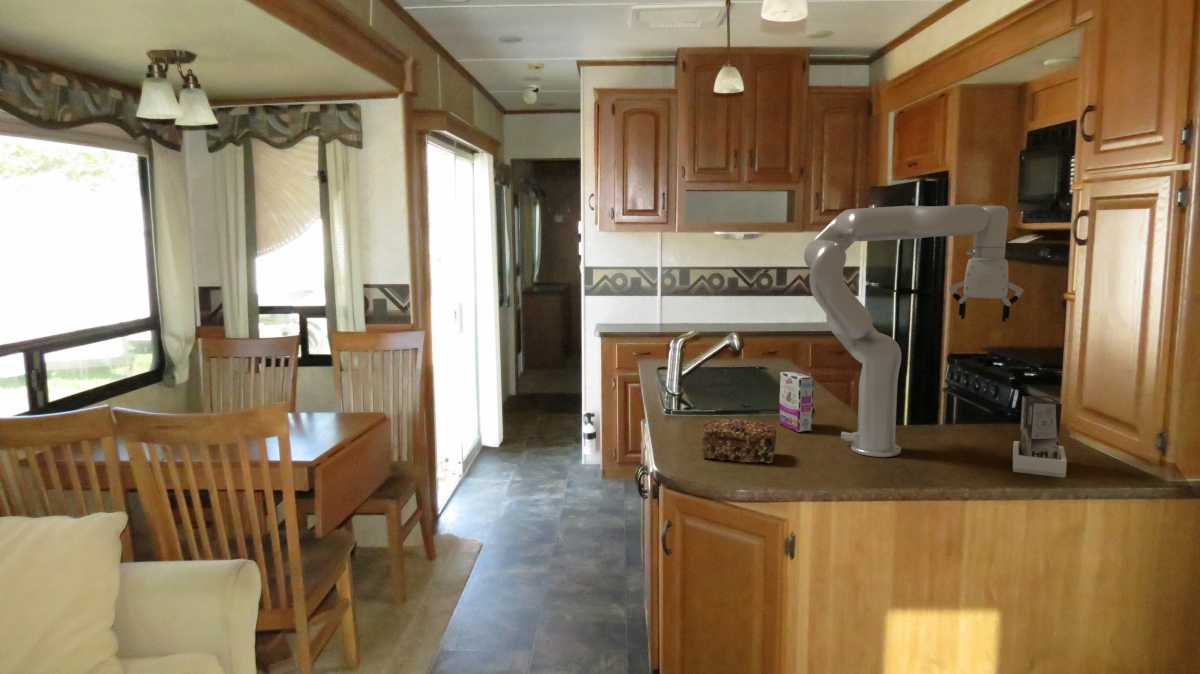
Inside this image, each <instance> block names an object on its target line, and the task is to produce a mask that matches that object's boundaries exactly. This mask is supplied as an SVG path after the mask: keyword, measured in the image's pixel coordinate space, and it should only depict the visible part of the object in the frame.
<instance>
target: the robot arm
mask: <svg viewBox="0 0 1200 674" xmlns="http://www.w3.org/2000/svg"><path fill="white" fill-rule="evenodd" d="M1008 220H1009V209H1008V208H1007V207H1006V206H1004V205H979V204H974V203H972V204H970V203H968V204H966V203H965V204H958V205H957V204H956V205H939V206H938V205H937V206H935V205H933V206H931V205H930V206H926V205H901V206H899V205H898V206H882V207H881V206H880V207H879V206H877V207H864V208H863V207H861V208H850V209H849V208H848V209H845V210H844V211H842V212H840V213H839V214H838V215H837V216H836V217H835V218H834V219H833V220H832V221H831V222H830V223H828V225H826V226H825V227H824V228H823V230H821V231H820V232H819V233H818V235H816V236H815V237H814V238H813V239H812V240H811V241H810V242H809V243H808V244H807V246H806V248H805V250H804V253H803V260H804V262H805V264H806V265H805V266H807V268H809V269H810V272H809V288H810V291H811V295H812V296H813V298H814V299H815V301H816V302H817V304H818V305H819V306H820V308H821V309H822V310H823V311H824V313H825V314H826V316H825V319H826V324H827V326H828V328H829V330H830V331H831V332H832V334H833V335H834V336H835V337H836V338H837V340H838V341H839V342H840V343H841V344H842V345H843V346H842V347H844V348H845V349H846V350H847V352H848V353H849V354H850V356H851V357H853V358H854V359H855V360H856V361H857V362H859V363H860V364H862V366H861V371H860V376H859V382H858V413H857V415H858V416H857V431H853V432H848V431H841V433H840V439H842V440H843V441H846V442H849V441H850V442H852V443H851V445H850V449H851V451H853V452H855V453H856V454H859V455H863V456H867V457H873V458H874V457H877V458H888V457H890V458H891V457H895V456H898V455H899V454H901V453H902V447H901V446H900V445H898V444H896V427H897V426H896V425H897V424H896V423H897V402H898V401H897V399H898V397H897V395H898V380H899V373H900V368H901V362H902V351H901V347H900V345H899V344H898V342H897V341H896V340H895V339H894V338H893V337H891V336H889V335H887V334H884V333H882V332H879V331H878V330H877V329H876V328H875V327H874V325H873V322H874V321H873V317H872V315H871V313H870V312H869V310H868V309H867V308H866V307H865V306H864V305H863V304H862V303H861V301H860V300H859V299H858V298H857V297H856V295H854V293H853V292H852V291H851V289H850V288H849V286H848V285H847V283H846V282H845V280H844V276H843V273H844V268H845V265H846V262H847V253H846V251H847V250H848V249H849V248H850V247H851V246H852V245H853V243H854V244H855V242H873V241H874V242H875V241H877V242H878V241H891V240H893V241H895V240H896V241H897V240H915V239H923V238H931V237H933V238H935V237H936V238H937V237H952V236H953V237H954V236H956V237H957V236H970V235H971V236H973V241H972V242H973V243H972V248H969V249H967V248H966V250H965V252H966V253H965V254H966V255H970V256H971V258H969V259H968V261H967V263H966V268H965V273H964V274H965V275H964V280H962V281H960V282H957V283H955V284H952V285H950V286H949V287H948V288H949V291H950V293H951V295H952V297H953V298H954V299H955V300H956V301H957V302H958V304H959V308H958V316H961V317H960V319H961V320H964V319H966V313H967V312H966V309H967V303H966V300H968V299H969V298H972V299H973V298H975V299H996V300H997V299H1000V300H1001V301H1002V302H1003V303H1004V305H1003V309H1002V318H1001V320H1002V322H1004V323H1005V322H1006V320H1007V319H1010V310H1011V306H1012V305H1013V304H1014V303H1015V302H1017V301H1018V300H1019V299H1020V298H1021V296H1022V295H1023V293H1024V288H1021V287H1020V286H1018V285H1015V284H1014V283H1012V282H1010V281H1009V263H1008V260H1007V259H1005V257H1006V244H1007V243H1006V242H1007V232H1008V231H1007V230H1008ZM962 287H963V295H962V296H961V295H960V294H959V293H958V292H957V289H959V288H962ZM1009 289H1010V290H1012V291H1014V292H1015V294H1014V296H1012V297H1011V298H1008V296H1007V295H1008V290H1009Z"/></svg>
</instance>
